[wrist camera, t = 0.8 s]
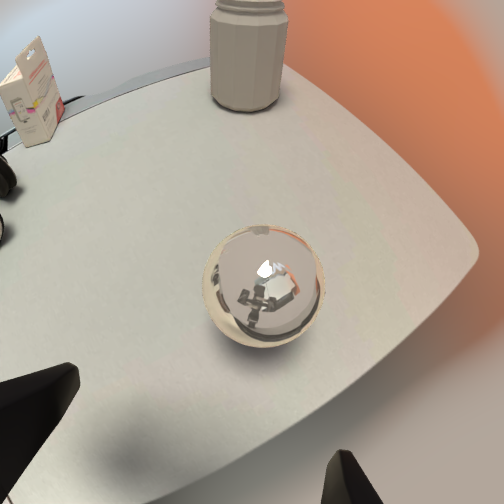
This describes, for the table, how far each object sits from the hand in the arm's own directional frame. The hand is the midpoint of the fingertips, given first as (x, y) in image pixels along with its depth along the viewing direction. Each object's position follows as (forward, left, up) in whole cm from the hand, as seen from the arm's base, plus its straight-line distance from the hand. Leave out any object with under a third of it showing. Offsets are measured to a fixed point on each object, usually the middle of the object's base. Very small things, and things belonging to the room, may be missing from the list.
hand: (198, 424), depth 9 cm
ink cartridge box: (+34, +31, -15) cm, 49 cm away
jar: (+41, +1, -15) cm, 43 cm away
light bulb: (+8, -2, -15) cm, 17 cm away
